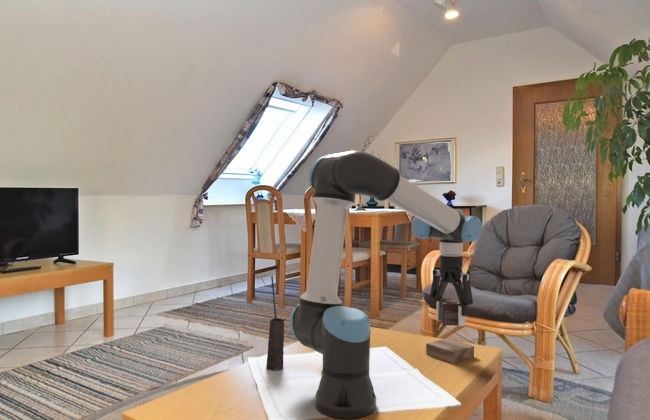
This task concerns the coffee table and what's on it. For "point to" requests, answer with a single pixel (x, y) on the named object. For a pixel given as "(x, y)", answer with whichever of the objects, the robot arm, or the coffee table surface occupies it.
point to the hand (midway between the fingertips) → (450, 322)
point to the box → (449, 312)
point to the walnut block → (450, 350)
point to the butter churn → (275, 341)
